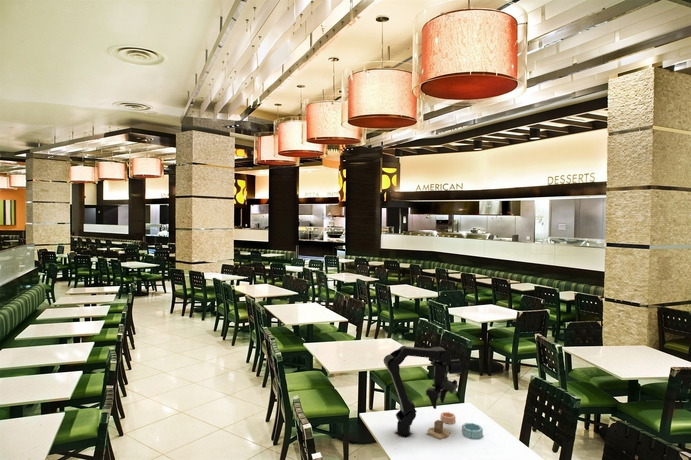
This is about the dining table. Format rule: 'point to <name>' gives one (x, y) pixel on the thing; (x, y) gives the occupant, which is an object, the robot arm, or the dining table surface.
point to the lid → (438, 430)
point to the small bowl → (447, 418)
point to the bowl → (472, 430)
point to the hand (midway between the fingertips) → (438, 405)
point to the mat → (437, 438)
